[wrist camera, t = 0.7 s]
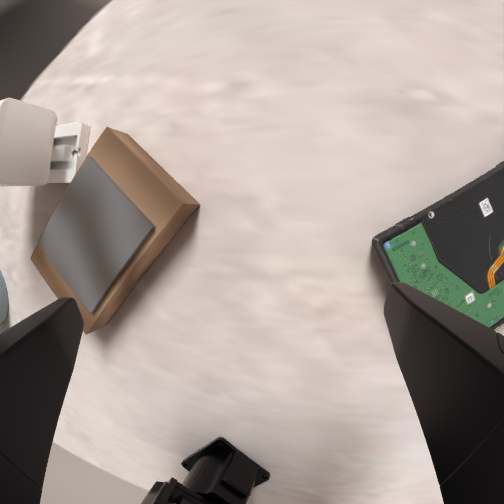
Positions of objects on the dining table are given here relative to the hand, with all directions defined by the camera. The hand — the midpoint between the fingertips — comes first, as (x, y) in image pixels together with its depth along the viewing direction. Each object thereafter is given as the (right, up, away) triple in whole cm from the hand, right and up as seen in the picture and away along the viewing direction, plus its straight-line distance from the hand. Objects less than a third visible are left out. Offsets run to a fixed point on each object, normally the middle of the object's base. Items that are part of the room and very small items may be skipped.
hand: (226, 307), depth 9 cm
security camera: (-17, +11, +18) cm, 27 cm away
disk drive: (+18, +1, +12) cm, 21 cm away
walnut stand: (-11, +3, +17) cm, 20 cm away
